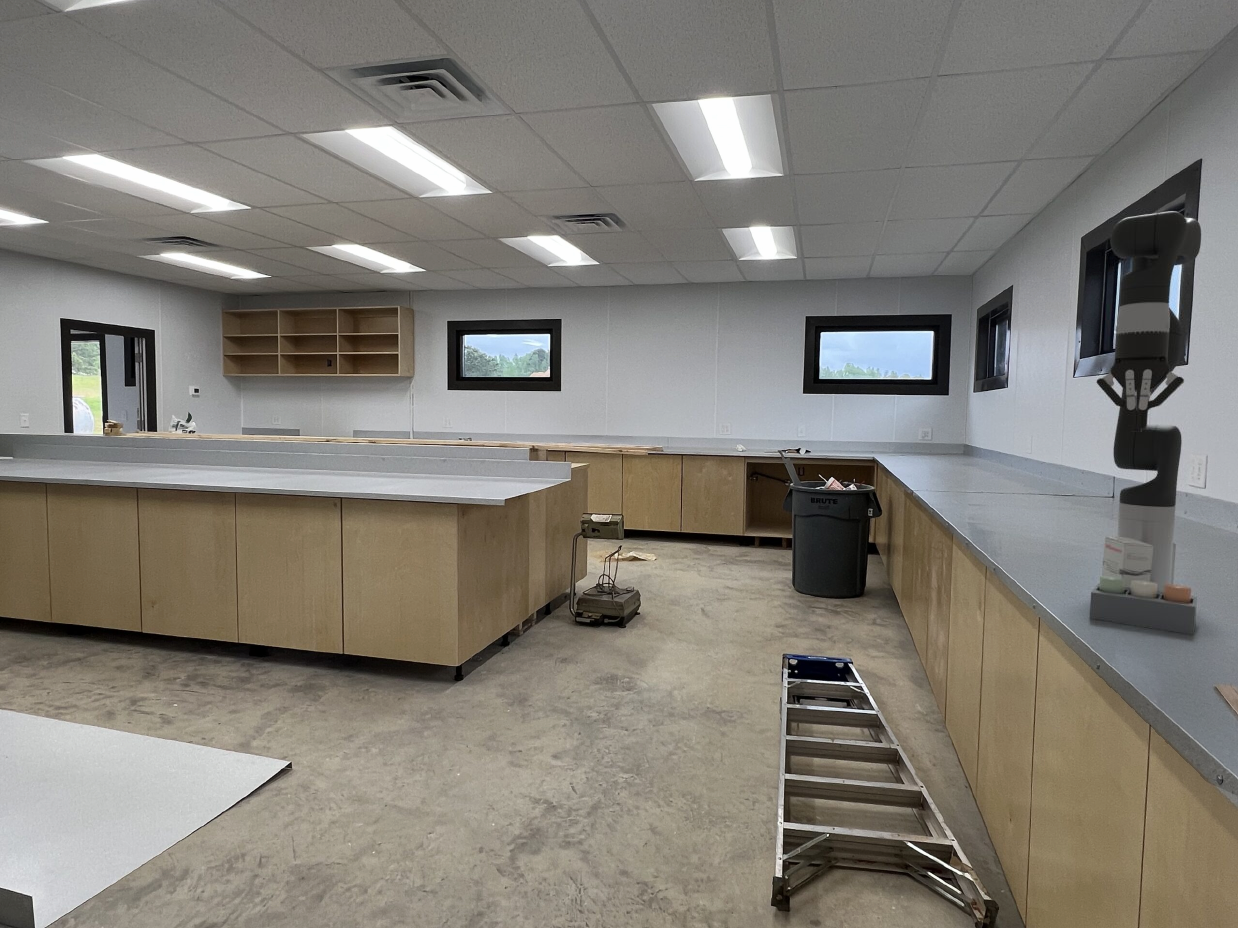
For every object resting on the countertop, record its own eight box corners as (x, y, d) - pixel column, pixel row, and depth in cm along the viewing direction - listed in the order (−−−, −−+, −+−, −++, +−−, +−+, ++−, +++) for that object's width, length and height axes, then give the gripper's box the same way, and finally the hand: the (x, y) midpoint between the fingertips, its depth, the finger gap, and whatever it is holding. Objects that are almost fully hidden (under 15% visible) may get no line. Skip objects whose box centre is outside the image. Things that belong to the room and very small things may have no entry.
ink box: (1150, 609, 132) (1154, 544, 132) (1119, 607, 133) (1123, 542, 133) (1127, 598, 141) (1131, 536, 140) (1098, 596, 142) (1102, 535, 141)
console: (1096, 608, 133) (1098, 583, 132) (1195, 622, 124) (1197, 596, 123) (1089, 618, 126) (1091, 592, 125) (1193, 634, 117) (1195, 606, 116)
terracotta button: (1163, 600, 124) (1164, 583, 124) (1190, 604, 122) (1191, 586, 122) (1162, 604, 121) (1163, 586, 121) (1189, 608, 119) (1190, 590, 119)
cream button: (1131, 596, 127) (1132, 579, 127) (1157, 599, 125) (1158, 582, 124) (1129, 600, 124) (1130, 582, 124) (1155, 603, 122) (1156, 586, 122)
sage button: (1100, 592, 130) (1101, 575, 130) (1125, 595, 128) (1126, 578, 127) (1097, 595, 127) (1098, 578, 127) (1122, 599, 125) (1123, 581, 125)
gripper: (1191, 331, 126) (1184, 432, 127) (1100, 336, 135) (1094, 430, 136) (1189, 327, 120) (1182, 432, 121) (1094, 332, 129) (1088, 430, 130)
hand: (1136, 431), depth 129 cm, fingers closed
